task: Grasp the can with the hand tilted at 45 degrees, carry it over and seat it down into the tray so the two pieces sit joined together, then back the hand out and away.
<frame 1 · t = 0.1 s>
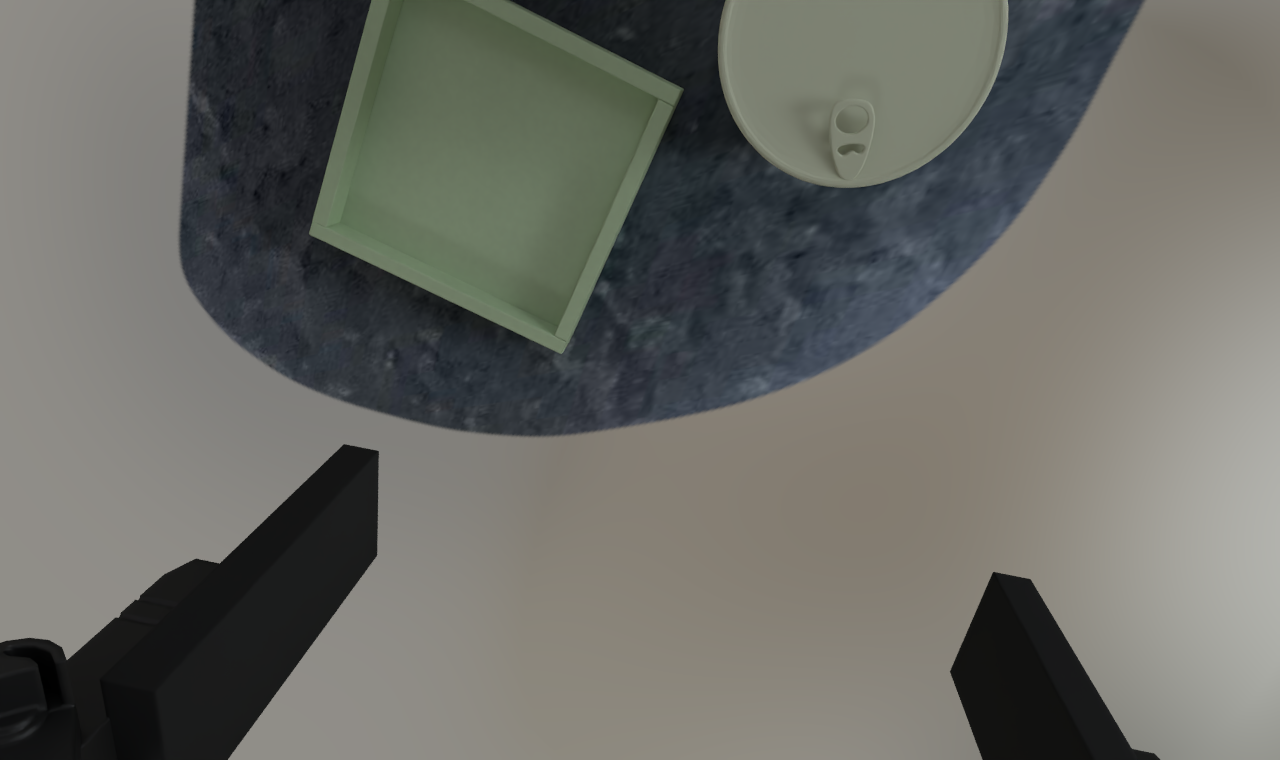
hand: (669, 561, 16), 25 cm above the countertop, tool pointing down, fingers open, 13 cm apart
tray: (495, 162, 38), on the countertop
can: (818, 53, 34), on the countertop
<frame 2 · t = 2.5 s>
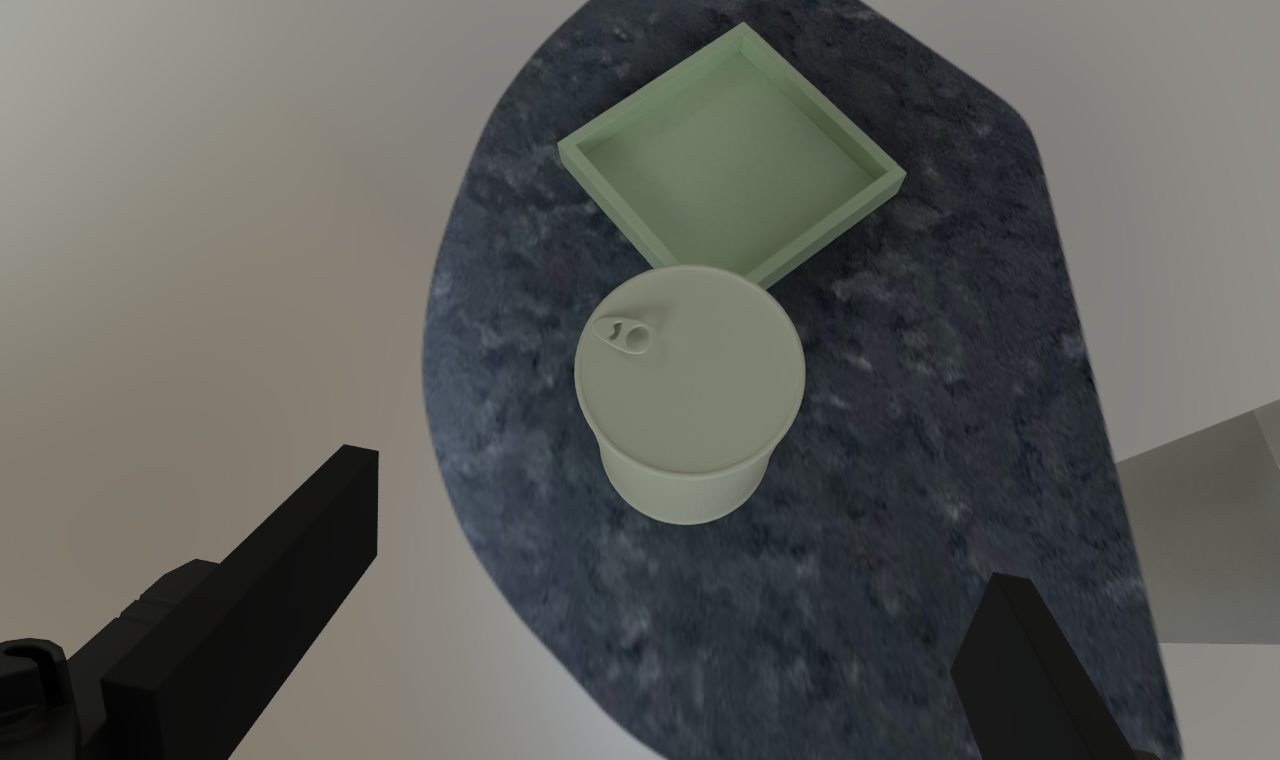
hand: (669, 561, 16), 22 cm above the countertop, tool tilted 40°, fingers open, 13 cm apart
tray: (726, 178, 45), on the countertop
can: (684, 440, 40), on the countertop
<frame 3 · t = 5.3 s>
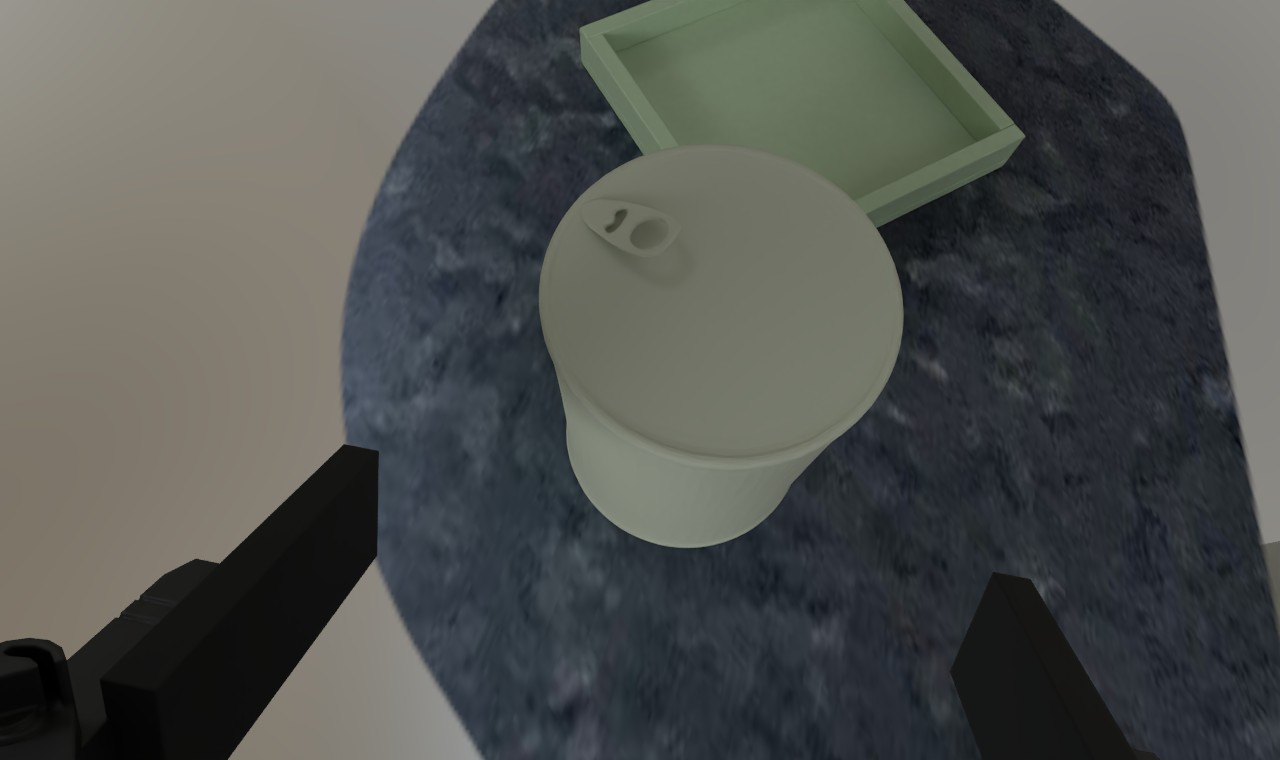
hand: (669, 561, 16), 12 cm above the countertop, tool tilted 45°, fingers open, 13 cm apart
tray: (787, 113, 35), on the countertop
can: (683, 431, 29), on the countertop
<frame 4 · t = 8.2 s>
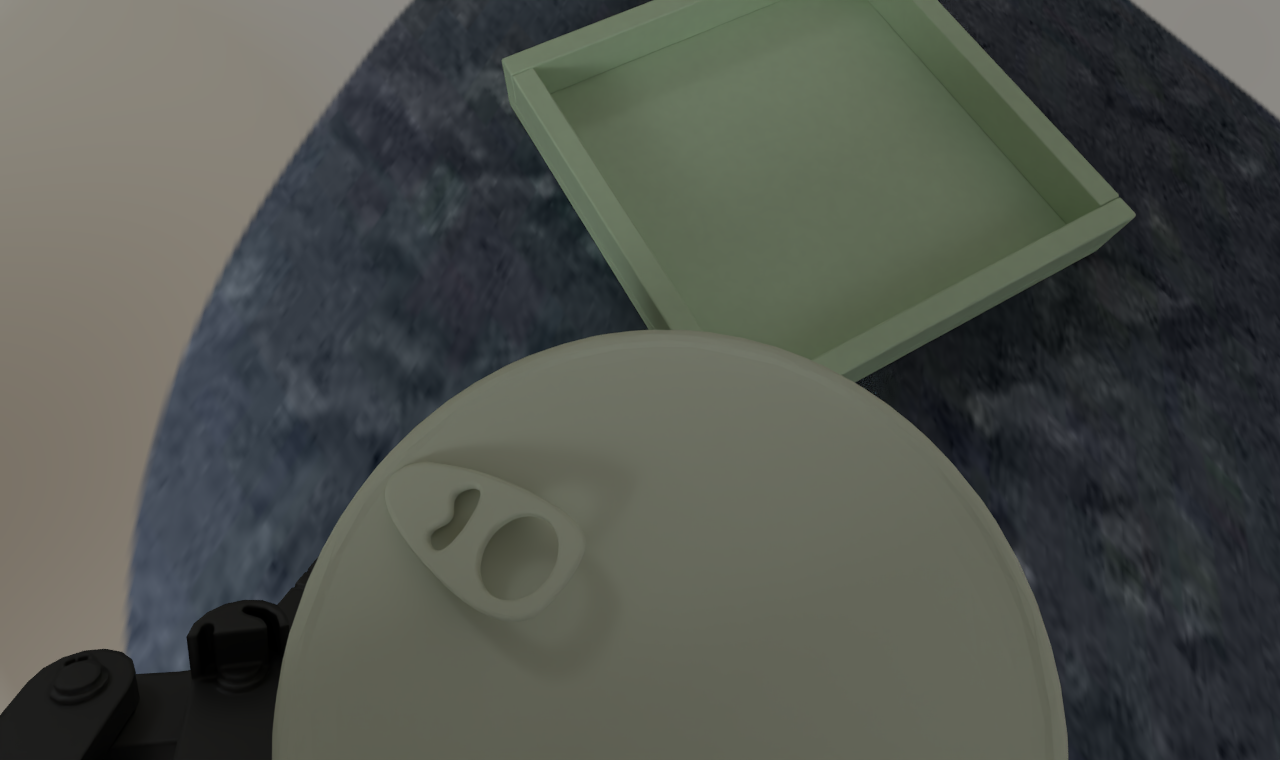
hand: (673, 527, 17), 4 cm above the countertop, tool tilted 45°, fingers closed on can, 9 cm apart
tray: (794, 175, 25), on the countertop
can: (642, 675, 19), on the countertop, touching gripper
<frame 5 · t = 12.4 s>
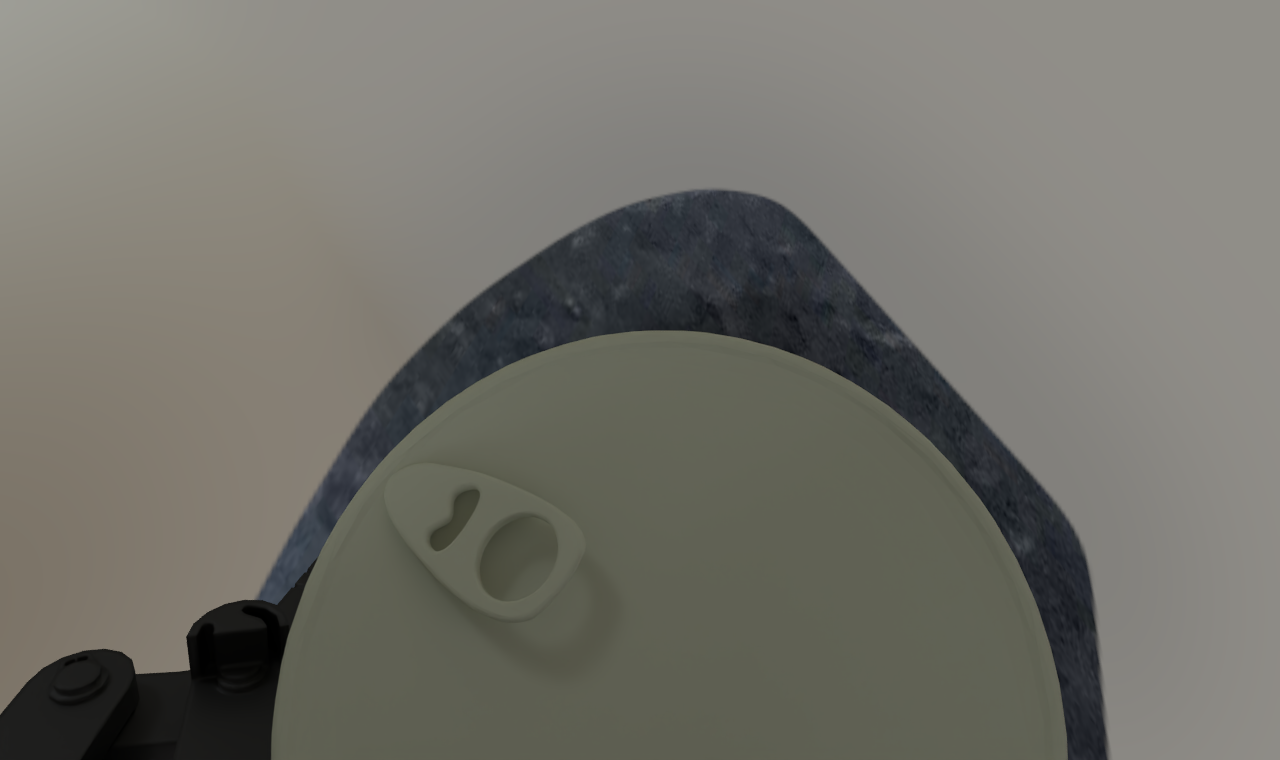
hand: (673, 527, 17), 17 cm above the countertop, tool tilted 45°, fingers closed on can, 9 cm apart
can: (641, 675, 19), point 13 cm above the countertop, touching gripper
when the fingers open (4 cm above the countertop, at t = 16.9 s): can stays where it is, resting on tray.
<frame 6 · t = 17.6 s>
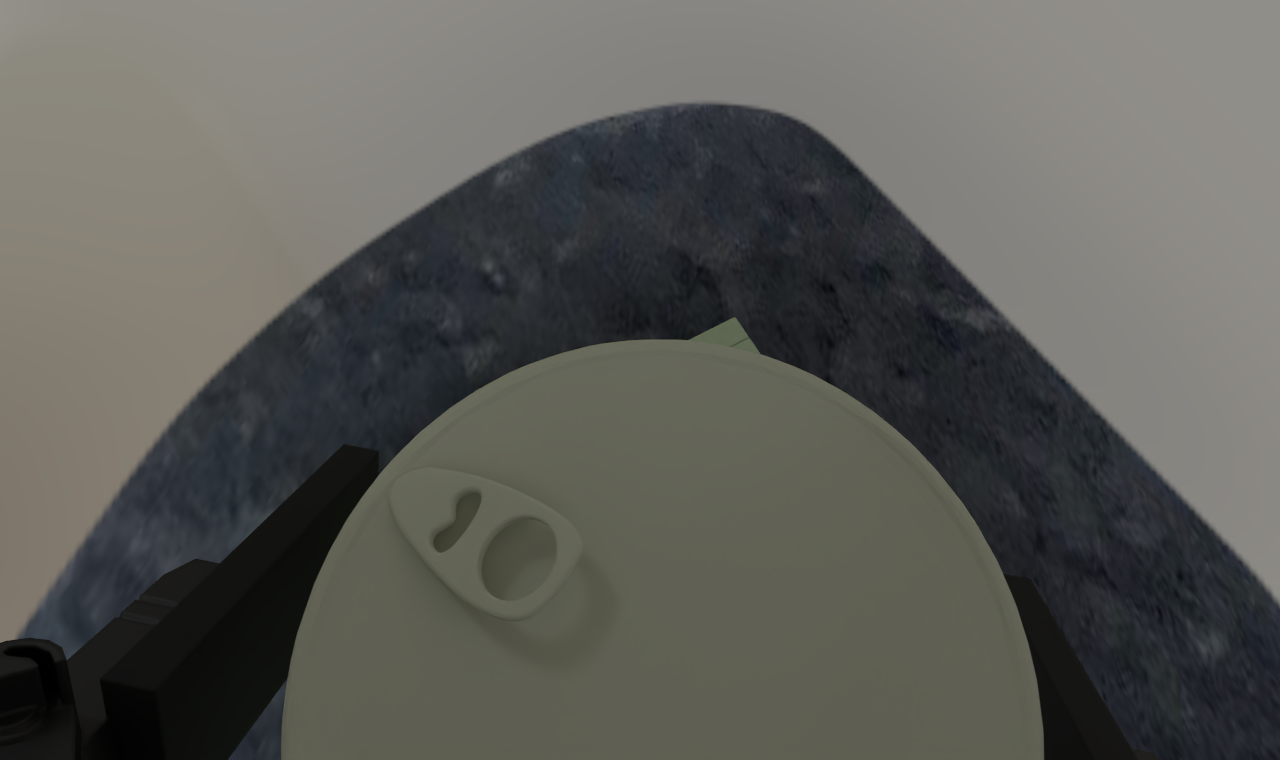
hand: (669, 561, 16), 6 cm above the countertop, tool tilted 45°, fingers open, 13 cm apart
tray: (638, 673, 20), on the countertop
can: (637, 674, 20), resting on tray
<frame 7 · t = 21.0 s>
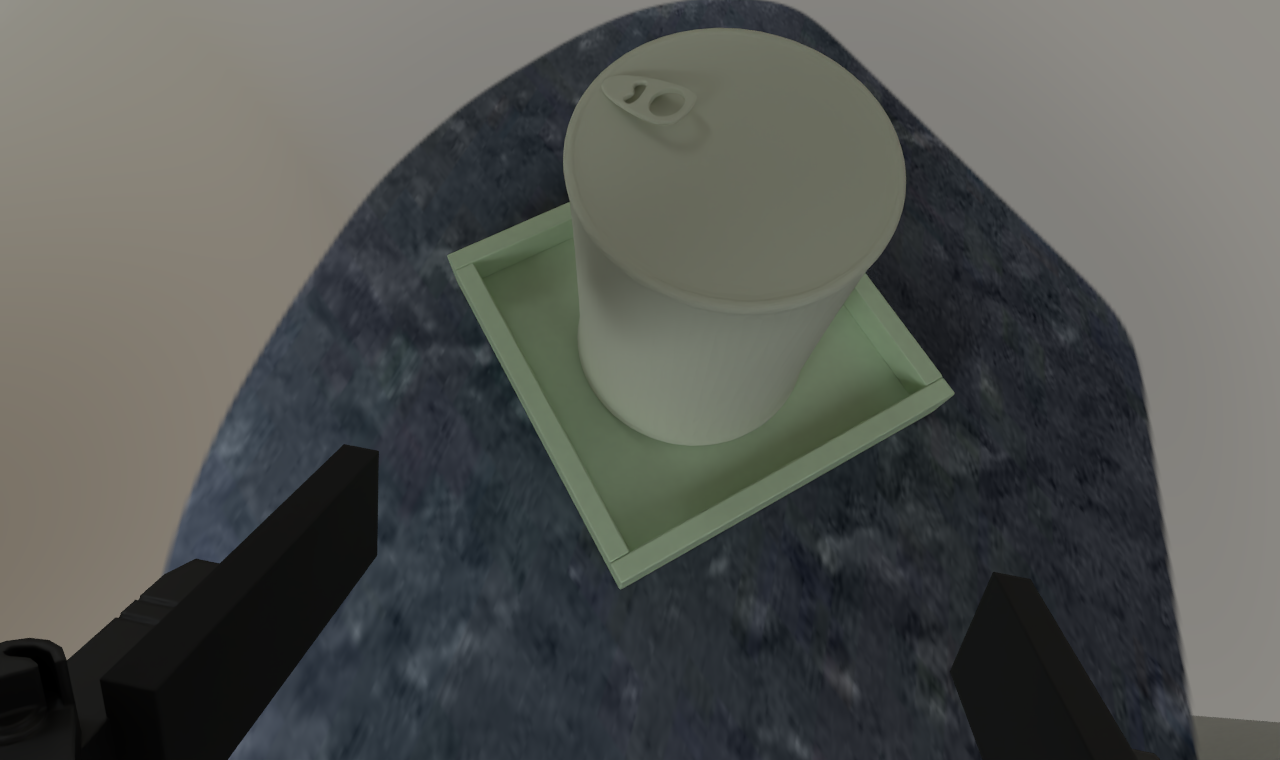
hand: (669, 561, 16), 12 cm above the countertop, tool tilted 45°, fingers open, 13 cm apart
tray: (689, 344, 31), on the countertop
can: (689, 340, 30), resting on tray
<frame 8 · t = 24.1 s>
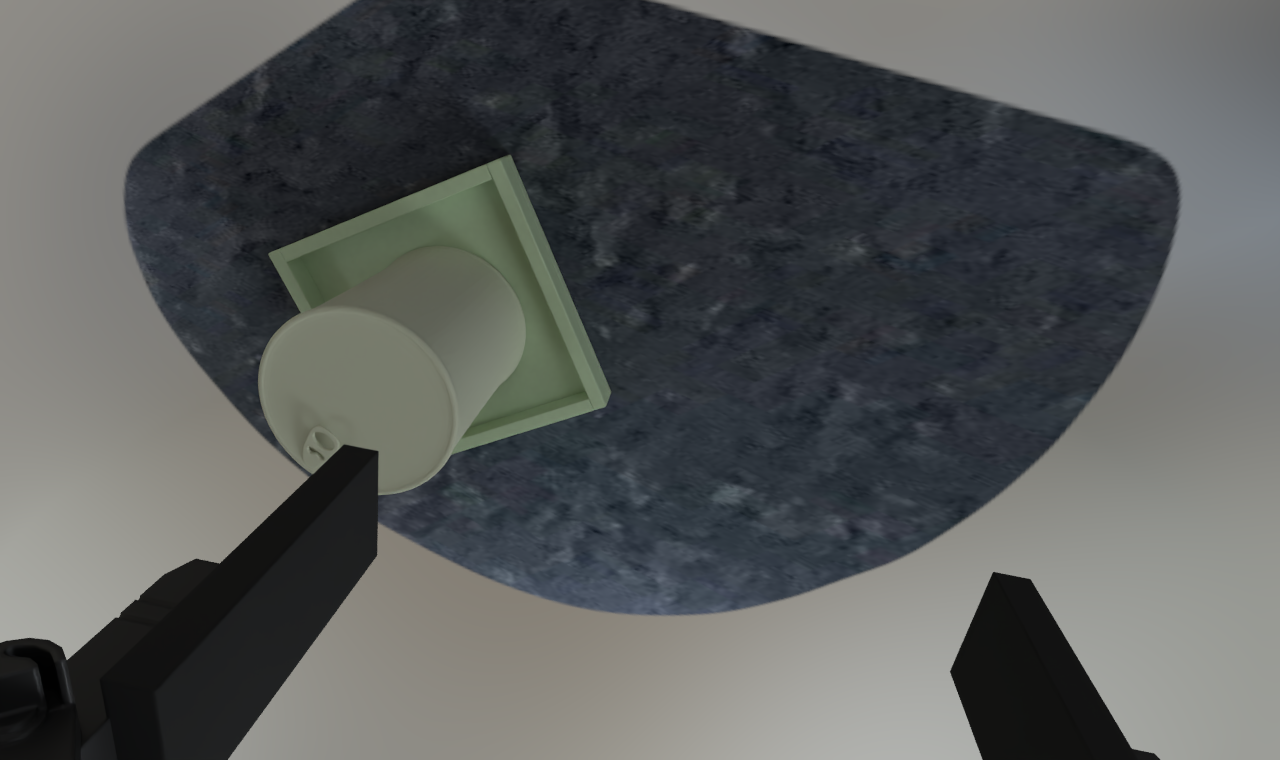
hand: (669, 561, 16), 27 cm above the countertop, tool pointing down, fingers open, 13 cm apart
tray: (452, 320, 43), on the countertop
can: (450, 322, 43), resting on tray
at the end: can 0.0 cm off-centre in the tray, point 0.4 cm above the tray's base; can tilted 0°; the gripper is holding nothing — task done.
